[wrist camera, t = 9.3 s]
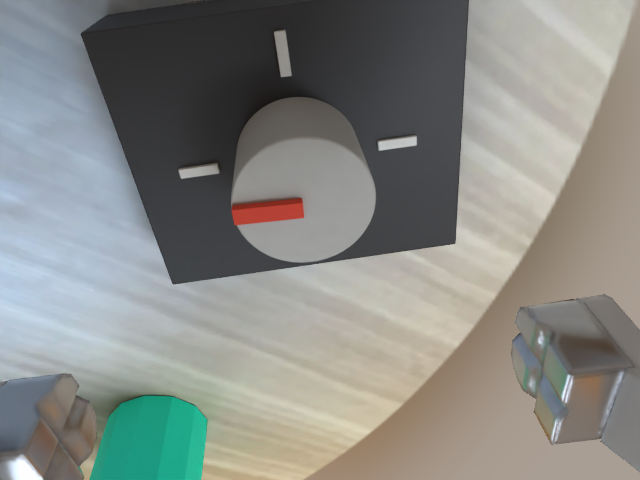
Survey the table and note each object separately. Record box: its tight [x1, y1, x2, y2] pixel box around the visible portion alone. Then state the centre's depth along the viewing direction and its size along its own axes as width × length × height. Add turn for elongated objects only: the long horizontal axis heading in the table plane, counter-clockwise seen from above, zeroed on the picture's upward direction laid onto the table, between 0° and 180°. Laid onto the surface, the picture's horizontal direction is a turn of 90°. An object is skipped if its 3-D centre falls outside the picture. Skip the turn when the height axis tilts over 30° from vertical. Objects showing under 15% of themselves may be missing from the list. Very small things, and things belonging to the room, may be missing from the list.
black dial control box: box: [81, 0, 469, 284], centre depth 19 cm, size 12×10×3 cm
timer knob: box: [231, 97, 376, 263], centre depth 16 cm, size 4×4×4 cm
